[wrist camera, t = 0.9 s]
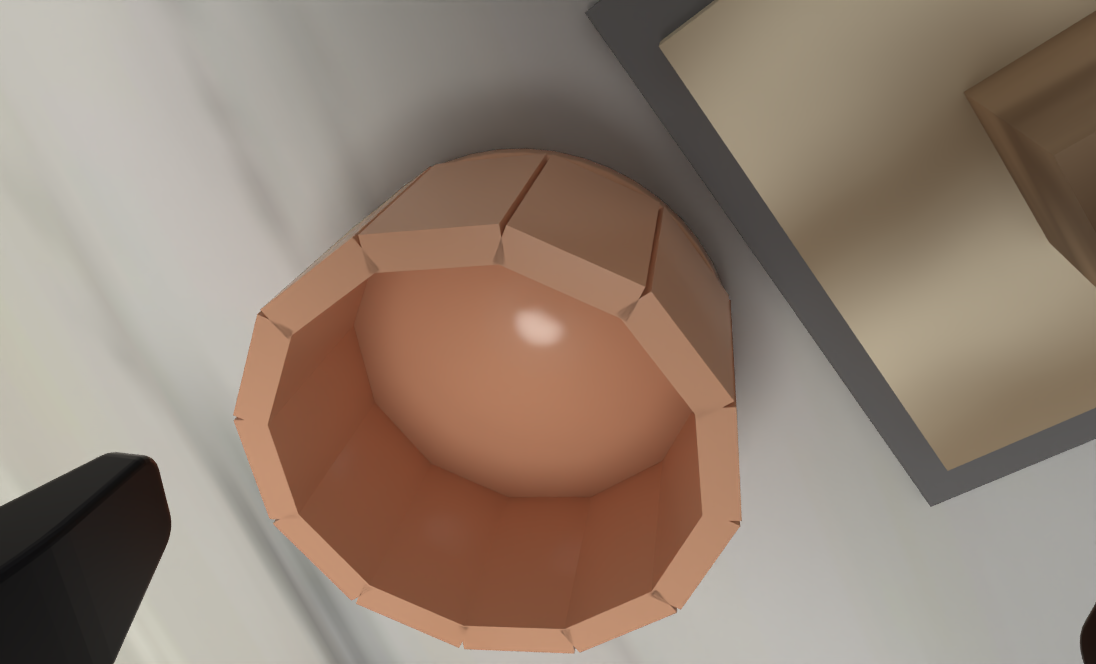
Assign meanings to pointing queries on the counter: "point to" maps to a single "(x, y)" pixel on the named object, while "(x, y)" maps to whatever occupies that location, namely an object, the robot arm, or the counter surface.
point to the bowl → (503, 406)
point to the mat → (799, 258)
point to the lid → (927, 188)
